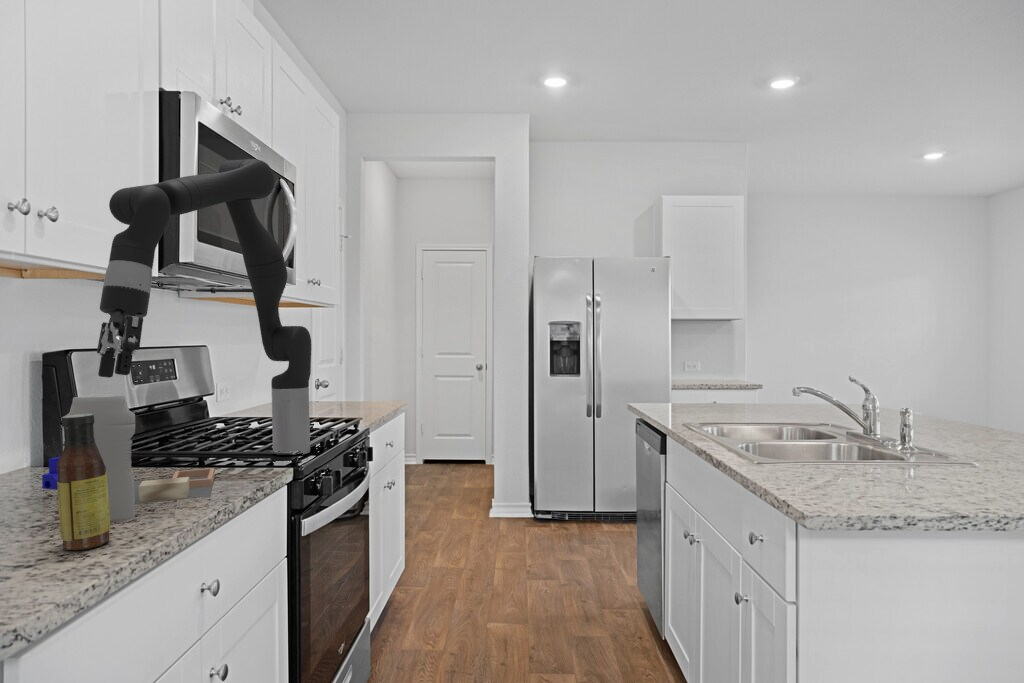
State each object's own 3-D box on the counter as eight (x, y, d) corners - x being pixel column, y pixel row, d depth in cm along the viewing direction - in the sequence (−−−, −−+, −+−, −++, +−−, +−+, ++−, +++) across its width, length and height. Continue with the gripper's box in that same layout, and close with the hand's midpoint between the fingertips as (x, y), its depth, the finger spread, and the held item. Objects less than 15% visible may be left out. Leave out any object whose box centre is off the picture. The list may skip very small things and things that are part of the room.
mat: (132, 483, 133) (132, 481, 133) (215, 476, 139) (215, 474, 139) (113, 508, 115) (113, 505, 115) (210, 498, 121) (210, 496, 121)
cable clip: (42, 489, 131) (41, 460, 130) (63, 483, 135) (62, 456, 135) (88, 492, 127) (87, 463, 127) (107, 486, 132) (106, 458, 132)
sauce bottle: (119, 537, 99) (116, 411, 98) (94, 552, 92) (90, 417, 92) (76, 538, 98) (73, 412, 98) (48, 553, 92) (44, 418, 92)
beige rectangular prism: (139, 502, 117) (138, 486, 117) (143, 496, 121) (142, 481, 121) (187, 497, 120) (187, 481, 120) (189, 491, 124) (189, 476, 124)
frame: (175, 478, 136) (175, 471, 136) (214, 474, 139) (214, 467, 139) (169, 490, 126) (169, 482, 126) (211, 486, 129) (211, 478, 128)
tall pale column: (61, 529, 103) (57, 395, 102) (71, 522, 107) (67, 393, 106) (134, 523, 106) (130, 393, 105) (141, 516, 110) (138, 390, 109)
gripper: (164, 288, 115) (150, 376, 112) (134, 298, 124) (122, 380, 121) (118, 278, 109) (103, 371, 106) (91, 289, 118) (76, 375, 115)
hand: (113, 375), depth 114 cm, fingers open, 8 cm apart
